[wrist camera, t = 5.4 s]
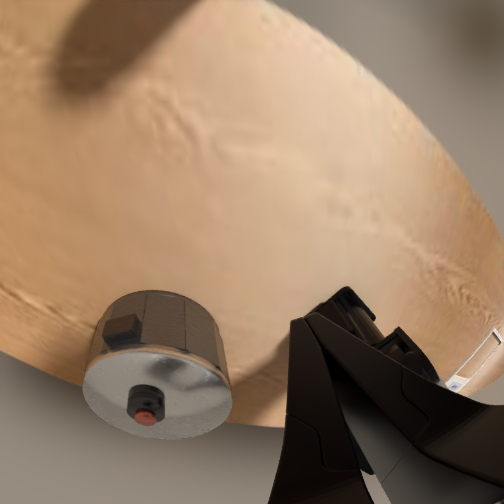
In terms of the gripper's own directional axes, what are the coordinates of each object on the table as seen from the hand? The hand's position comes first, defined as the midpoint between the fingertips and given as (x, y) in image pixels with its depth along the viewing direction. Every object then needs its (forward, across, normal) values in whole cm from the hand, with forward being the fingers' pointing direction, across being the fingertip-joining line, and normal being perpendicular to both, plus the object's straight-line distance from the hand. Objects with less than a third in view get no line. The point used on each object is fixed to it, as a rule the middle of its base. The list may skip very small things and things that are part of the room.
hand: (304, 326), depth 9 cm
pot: (+13, +10, +10) cm, 19 cm away
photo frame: (+14, -40, +47) cm, 63 cm away
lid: (+7, +10, +10) cm, 16 cm away
